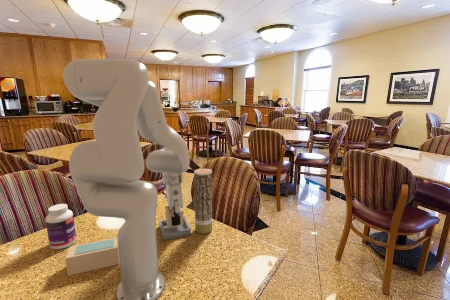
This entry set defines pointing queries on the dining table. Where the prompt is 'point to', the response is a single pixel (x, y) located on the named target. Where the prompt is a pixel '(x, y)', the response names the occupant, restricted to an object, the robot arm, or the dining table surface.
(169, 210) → the stub
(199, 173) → the bark textured cylinder
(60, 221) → the pill bottle
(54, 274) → the dining table surface
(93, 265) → the beige rectangular block
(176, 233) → the tray
